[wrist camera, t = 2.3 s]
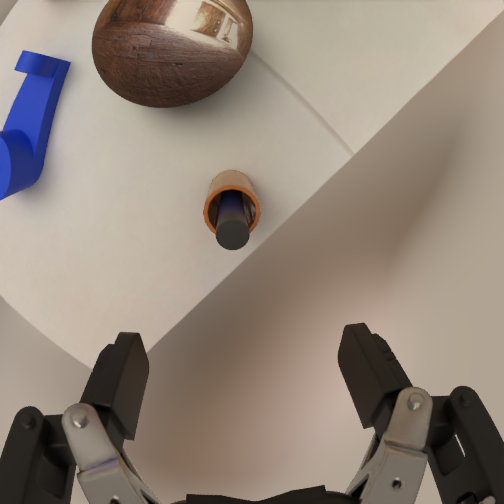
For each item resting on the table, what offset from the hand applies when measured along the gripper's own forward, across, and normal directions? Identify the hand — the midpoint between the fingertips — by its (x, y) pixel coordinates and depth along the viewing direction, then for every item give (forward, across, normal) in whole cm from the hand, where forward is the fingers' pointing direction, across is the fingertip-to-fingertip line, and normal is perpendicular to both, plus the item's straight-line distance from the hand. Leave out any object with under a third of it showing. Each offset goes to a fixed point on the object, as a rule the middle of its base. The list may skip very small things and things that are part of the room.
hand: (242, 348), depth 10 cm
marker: (+26, 0, 0) cm, 26 cm away
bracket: (+26, +28, -13) cm, 41 cm away
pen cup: (+26, 0, 0) cm, 26 cm away
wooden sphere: (+26, +6, -18) cm, 32 cm away
